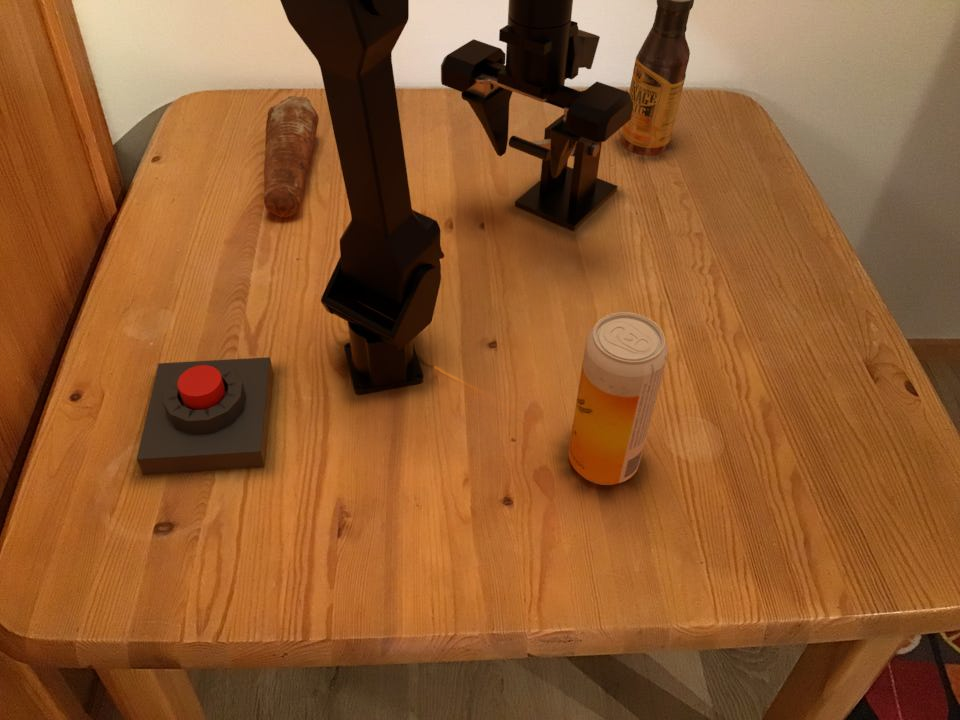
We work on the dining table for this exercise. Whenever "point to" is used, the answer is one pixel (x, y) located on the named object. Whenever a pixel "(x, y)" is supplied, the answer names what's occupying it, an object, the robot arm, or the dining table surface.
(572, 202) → the bracket
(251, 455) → the button box
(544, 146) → the lever
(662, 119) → the sauce bottle
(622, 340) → the beer can
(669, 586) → the dining table surface
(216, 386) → the button
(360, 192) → the robot arm
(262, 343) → the dining table surface
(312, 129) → the brown tapered cylinder
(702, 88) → the dining table surface
